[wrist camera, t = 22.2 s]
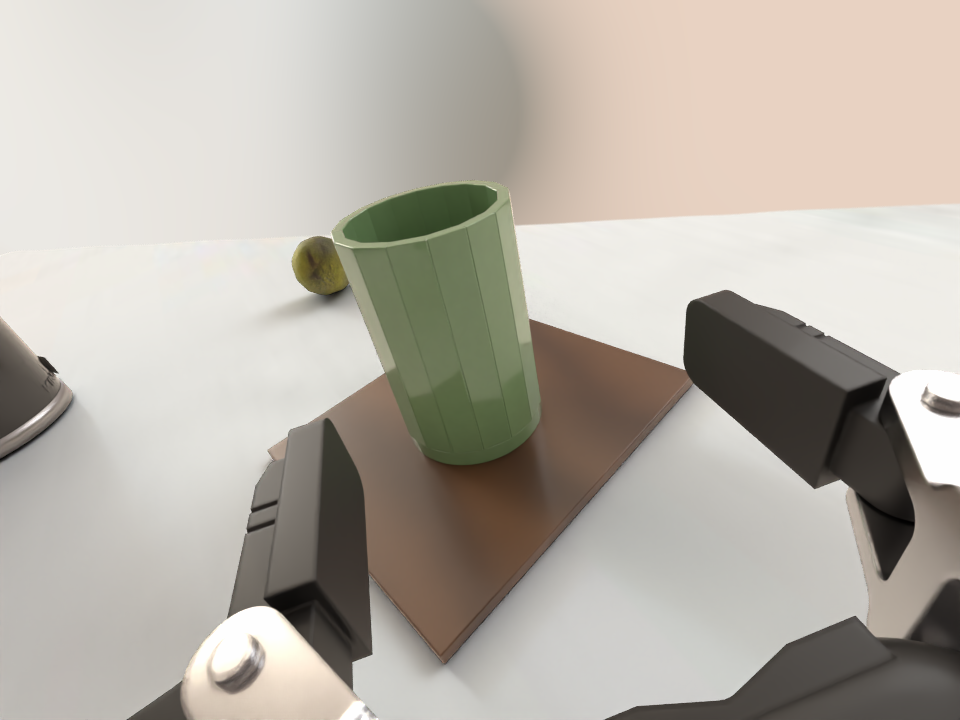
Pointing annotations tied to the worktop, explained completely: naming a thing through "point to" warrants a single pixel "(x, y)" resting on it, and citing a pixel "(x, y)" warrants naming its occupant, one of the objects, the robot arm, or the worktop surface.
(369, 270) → the tumbler
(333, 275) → the lime
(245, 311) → the worktop surface
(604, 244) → the worktop surface
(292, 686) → the robot arm
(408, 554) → the board
